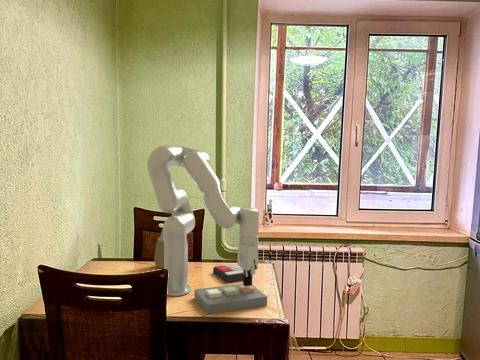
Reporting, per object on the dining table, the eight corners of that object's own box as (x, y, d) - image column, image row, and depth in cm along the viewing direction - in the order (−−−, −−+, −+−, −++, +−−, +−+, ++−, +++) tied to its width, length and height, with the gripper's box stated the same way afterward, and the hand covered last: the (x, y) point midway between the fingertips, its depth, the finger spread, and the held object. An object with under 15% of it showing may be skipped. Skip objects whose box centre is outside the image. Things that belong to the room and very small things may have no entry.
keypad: (207, 314, 148) (208, 304, 148) (194, 298, 162) (194, 289, 162) (266, 305, 158) (267, 296, 157) (249, 290, 172) (249, 282, 172)
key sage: (227, 298, 157) (227, 291, 157) (223, 294, 161) (223, 287, 161) (237, 296, 159) (237, 290, 158) (233, 292, 163) (233, 286, 162)
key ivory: (209, 300, 154) (210, 294, 154) (206, 296, 158) (206, 290, 158) (220, 299, 156) (221, 292, 156) (216, 294, 160) (216, 288, 160)
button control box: (233, 263, 199) (249, 270, 186) (233, 271, 199) (249, 280, 186) (212, 266, 193) (227, 274, 180) (212, 275, 194) (227, 283, 181)
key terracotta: (243, 295, 160) (244, 289, 159) (239, 291, 164) (239, 285, 163) (254, 294, 162) (254, 288, 161) (249, 290, 166) (249, 284, 165)
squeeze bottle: (156, 264, 204) (156, 228, 202) (172, 265, 203) (172, 229, 202) (152, 269, 196) (152, 232, 194) (169, 270, 195) (169, 233, 194)
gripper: (232, 236, 166) (231, 280, 168) (248, 245, 152) (246, 293, 154) (249, 234, 169) (248, 278, 171) (266, 243, 155) (264, 290, 157)
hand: (247, 285), depth 162 cm, fingers closed
